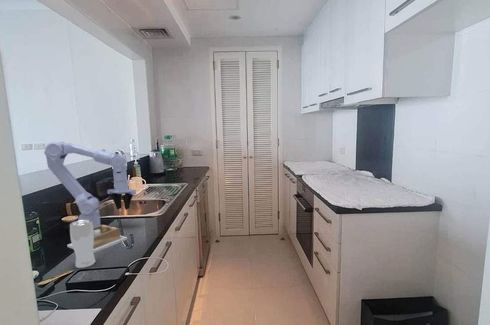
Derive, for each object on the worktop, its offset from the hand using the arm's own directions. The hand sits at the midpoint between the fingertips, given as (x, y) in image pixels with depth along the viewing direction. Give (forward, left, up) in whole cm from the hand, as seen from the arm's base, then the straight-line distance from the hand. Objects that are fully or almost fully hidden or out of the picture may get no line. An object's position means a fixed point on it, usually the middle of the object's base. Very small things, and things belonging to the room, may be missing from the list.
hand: (123, 208), depth 129 cm
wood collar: (+6, -17, -8) cm, 20 cm away
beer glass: (+20, -30, -10) cm, 37 cm away
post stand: (+6, -17, -9) cm, 20 cm away
